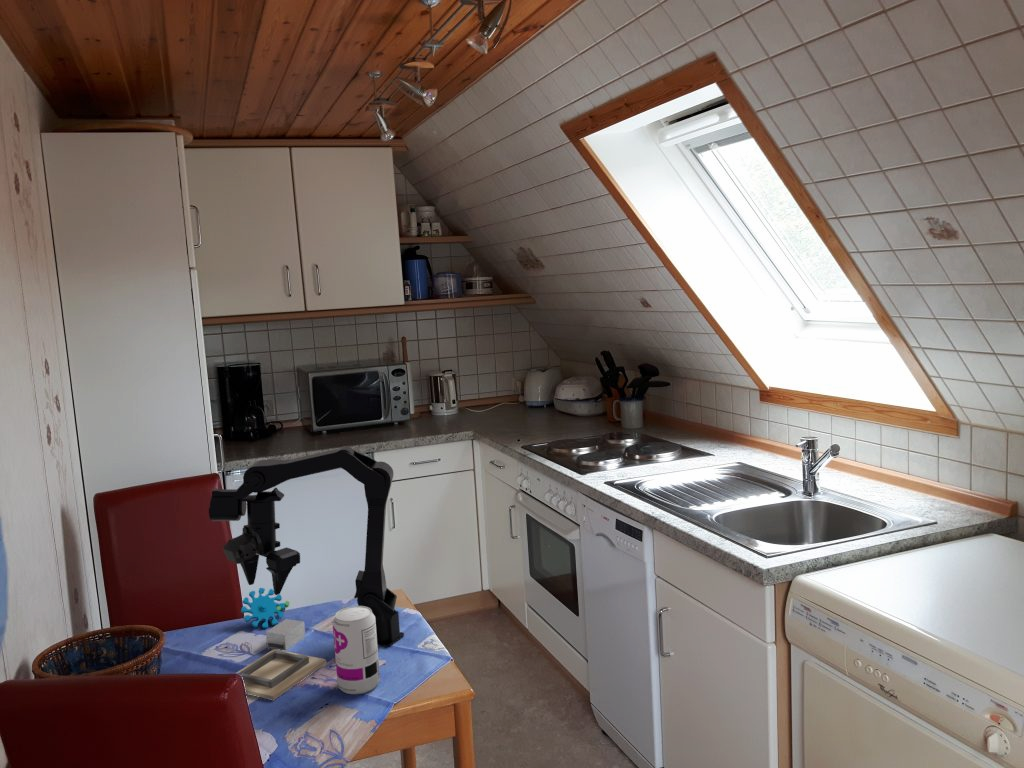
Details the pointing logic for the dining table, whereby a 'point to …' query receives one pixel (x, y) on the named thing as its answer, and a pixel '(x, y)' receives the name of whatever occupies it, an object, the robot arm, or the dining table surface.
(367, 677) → the supplement can
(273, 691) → the dock
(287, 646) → the block
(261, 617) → the gear
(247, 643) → the dining table surface
